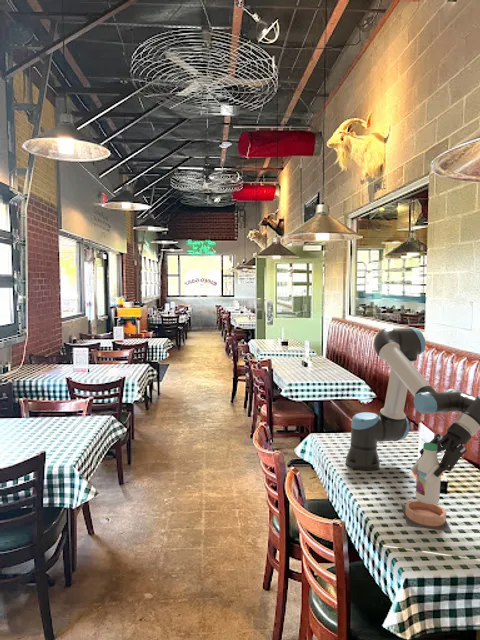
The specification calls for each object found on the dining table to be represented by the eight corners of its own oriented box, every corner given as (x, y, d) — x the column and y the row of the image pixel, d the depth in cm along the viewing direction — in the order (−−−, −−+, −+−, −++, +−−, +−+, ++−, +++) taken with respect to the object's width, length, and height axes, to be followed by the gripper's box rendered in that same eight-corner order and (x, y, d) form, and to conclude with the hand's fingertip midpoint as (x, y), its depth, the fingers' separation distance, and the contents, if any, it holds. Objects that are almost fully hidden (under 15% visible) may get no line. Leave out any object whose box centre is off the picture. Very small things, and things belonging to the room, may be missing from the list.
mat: (407, 526, 157) (407, 525, 157) (401, 505, 173) (401, 504, 173) (451, 532, 154) (451, 531, 154) (441, 510, 170) (441, 509, 170)
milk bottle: (438, 497, 165) (441, 442, 164) (439, 506, 158) (443, 449, 156) (415, 493, 168) (418, 439, 166) (415, 502, 160) (419, 446, 159)
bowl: (408, 523, 158) (408, 514, 158) (403, 506, 171) (403, 498, 171) (449, 529, 156) (449, 519, 156) (440, 511, 168) (441, 502, 168)
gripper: (490, 446, 155) (445, 496, 152) (449, 428, 175) (409, 472, 172) (477, 431, 153) (432, 481, 151) (438, 414, 173) (397, 459, 171)
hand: (419, 476), depth 161 cm, fingers closed on milk bottle, 7 cm apart
